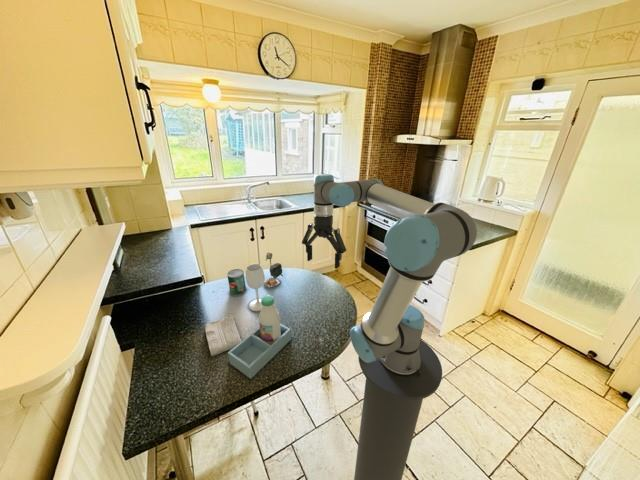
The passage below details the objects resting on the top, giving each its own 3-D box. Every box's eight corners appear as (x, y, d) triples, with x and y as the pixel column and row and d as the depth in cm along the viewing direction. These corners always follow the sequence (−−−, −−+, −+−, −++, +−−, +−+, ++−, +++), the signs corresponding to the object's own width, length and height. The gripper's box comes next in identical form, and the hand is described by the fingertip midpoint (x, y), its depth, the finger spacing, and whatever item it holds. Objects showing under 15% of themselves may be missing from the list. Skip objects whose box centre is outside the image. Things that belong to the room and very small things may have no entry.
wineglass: (256, 314, 116) (251, 274, 108) (245, 305, 122) (240, 267, 113) (271, 305, 122) (268, 267, 113) (260, 297, 127) (256, 260, 119)
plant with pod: (286, 284, 138) (284, 251, 129) (265, 289, 134) (261, 255, 125) (282, 277, 144) (280, 245, 136) (262, 281, 140) (258, 248, 132)
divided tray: (291, 339, 103) (290, 329, 101) (250, 379, 87) (249, 368, 84) (271, 327, 108) (270, 318, 106) (229, 363, 92) (227, 352, 90)
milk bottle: (274, 329, 106) (270, 289, 98) (285, 340, 101) (282, 299, 93) (257, 339, 101) (252, 298, 93) (268, 351, 96) (263, 308, 88)
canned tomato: (248, 287, 135) (246, 269, 130) (241, 296, 128) (238, 278, 123) (235, 285, 136) (232, 268, 132) (227, 294, 129) (223, 276, 125)
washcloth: (233, 318, 113) (232, 312, 112) (243, 346, 99) (243, 340, 98) (204, 328, 108) (203, 322, 107) (211, 359, 94) (210, 352, 93)
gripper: (292, 212, 104) (294, 259, 112) (347, 221, 92) (345, 274, 99) (303, 209, 110) (304, 254, 117) (356, 216, 98) (353, 267, 105)
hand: (323, 263), depth 108 cm, fingers open, 13 cm apart
